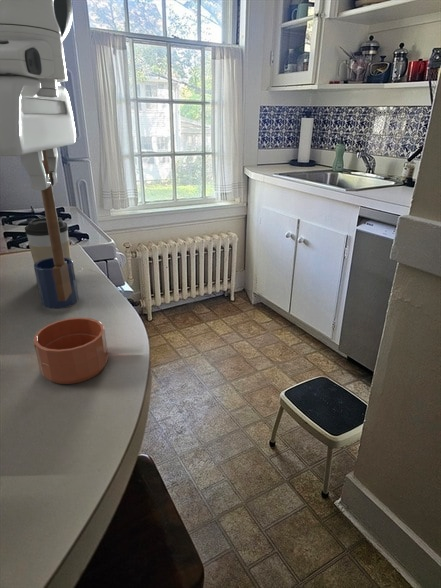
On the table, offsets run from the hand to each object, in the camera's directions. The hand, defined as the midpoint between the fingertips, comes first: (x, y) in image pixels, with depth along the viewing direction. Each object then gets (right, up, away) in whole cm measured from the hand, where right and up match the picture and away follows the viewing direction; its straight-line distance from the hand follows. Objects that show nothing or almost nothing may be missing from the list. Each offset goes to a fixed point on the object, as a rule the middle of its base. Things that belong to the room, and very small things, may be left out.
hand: (45, 187), depth 50 cm
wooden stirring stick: (0, -14, +6) cm, 16 cm away
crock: (-11, -16, +32) cm, 37 cm away
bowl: (0, -25, +11) cm, 28 cm away
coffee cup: (-16, -11, +43) cm, 47 cm away
